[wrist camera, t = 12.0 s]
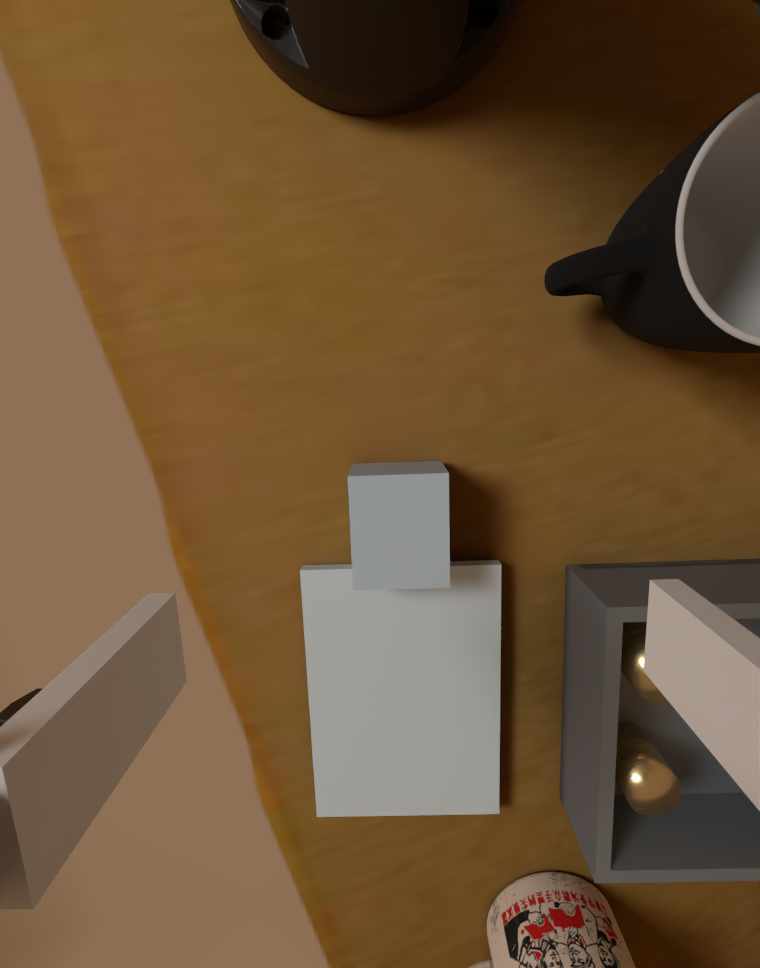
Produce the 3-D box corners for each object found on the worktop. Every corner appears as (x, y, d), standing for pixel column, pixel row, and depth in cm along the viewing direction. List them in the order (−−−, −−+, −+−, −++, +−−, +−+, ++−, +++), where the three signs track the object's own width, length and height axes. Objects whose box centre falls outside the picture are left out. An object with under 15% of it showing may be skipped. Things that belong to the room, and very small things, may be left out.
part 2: (598, 722, 32) (627, 769, 28) (648, 721, 32) (683, 768, 28) (597, 765, 33) (625, 817, 29) (645, 763, 33) (680, 815, 29)
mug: (742, 170, 27) (947, 47, 17) (745, 347, 29) (934, 329, 19) (510, 209, 28) (577, 112, 18) (526, 380, 29) (596, 380, 19)
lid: (297, 463, 31) (281, 478, 26) (496, 456, 30) (516, 470, 26) (320, 797, 35) (309, 862, 30) (494, 794, 35) (510, 859, 30)
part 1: (603, 616, 31) (634, 650, 27) (654, 615, 31) (693, 649, 27) (601, 663, 32) (631, 703, 28) (651, 661, 31) (689, 701, 28)
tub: (566, 565, 31) (607, 607, 25) (771, 558, 31) (860, 599, 25) (559, 797, 34) (594, 883, 28) (746, 793, 34) (820, 879, 28)
